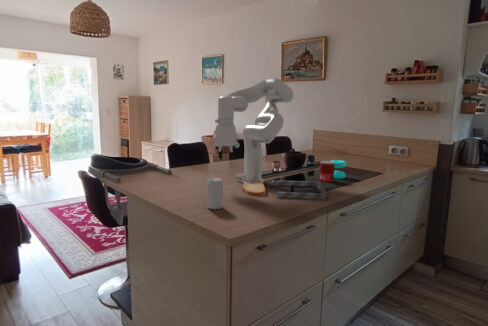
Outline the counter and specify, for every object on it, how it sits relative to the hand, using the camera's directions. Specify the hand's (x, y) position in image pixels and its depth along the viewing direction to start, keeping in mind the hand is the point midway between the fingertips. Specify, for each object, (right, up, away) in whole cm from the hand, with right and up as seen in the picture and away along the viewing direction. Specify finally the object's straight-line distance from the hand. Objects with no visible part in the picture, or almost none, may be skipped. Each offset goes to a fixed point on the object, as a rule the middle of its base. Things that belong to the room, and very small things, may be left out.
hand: (225, 159), depth 161 cm
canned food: (+56, -12, +25) cm, 63 cm away
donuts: (+65, -11, +35) cm, 74 cm away
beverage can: (-3, -20, -27) cm, 34 cm away
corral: (+36, -16, +1) cm, 39 cm away
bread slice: (+15, -16, +2) cm, 22 cm away
